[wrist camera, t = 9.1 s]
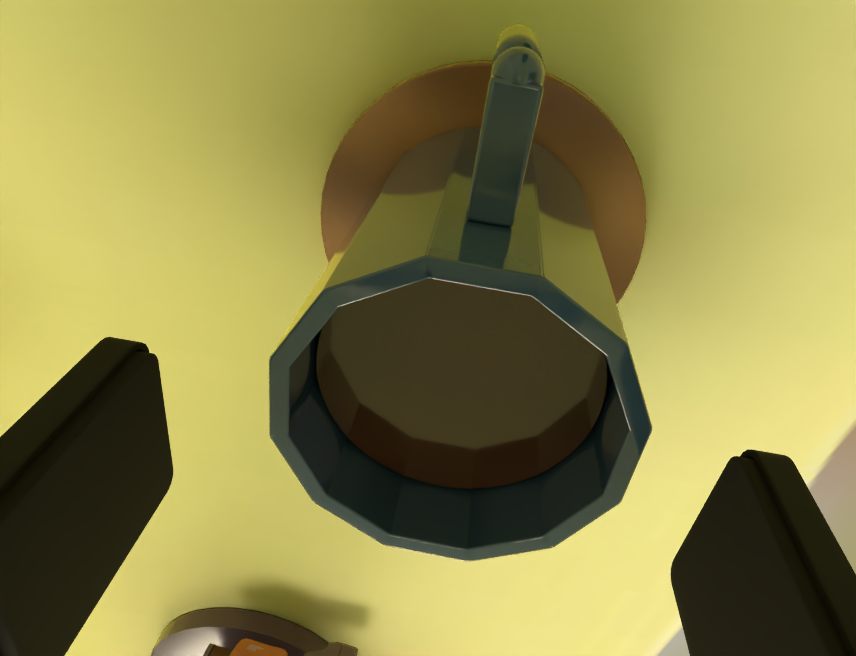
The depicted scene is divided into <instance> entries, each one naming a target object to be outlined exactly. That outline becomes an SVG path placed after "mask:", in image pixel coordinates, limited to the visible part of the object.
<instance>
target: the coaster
mask: <svg viewBox="0 0 856 656" xmlns="http://www.w3.org/2000/svg"><path fill="white" fill-rule="evenodd" d="M492 65H493V61H470V62H458V63H454V64H449V65H445V66H440V67H436V68H433V69H431V70H428V71H425V72H423V73H420V74H417V75H415V76H413V77H411V78H409V79H407V80H405V81H404V82H402V83H400V84H398V85H396V86H394V87H393V88H392V89H390V90H389V91H388V92H386V93H385V94H384V95H382V96H381V97H380V98H378V99H377V100H376V101H375V102H374V103H373V104H372V105H371V106H370V107H369V108H368V109H367V110H366V111H365V112H364V113H363V114H362V115H361V116H360V117H359V118H358V119H357V120H356V121H355V123H354V124H353V125H352V127H351V128H350V129H349V131H348V132H347V133H346V135H345V136H344V138H343V139H342V141H341V143H340V145H339V147H338V149H337V150H336V152H335V154H334V156H333V159H332V162H331V164H330V167H329V170H328V172H327V176H326V180H325V184H324V189H323V193H322V205H321V227H322V237H323V242H324V247H325V252H326V255H327V258H328V261H329V262H330V261H331V259H332V257H333V256H334V254H335V253H336V251H337V250H338V248H339V246H340V245H341V243H342V242H343V240H344V238H345V237H346V235H347V234H348V232H349V230H350V229H351V227H352V226H353V224H354V222H355V221H356V219H357V218H358V216H359V215H360V213H361V211H362V210H363V208H364V207H365V205H366V203H367V202H368V200H369V199H370V197H371V196H372V195H373V193H374V192H375V191H376V189H377V188H378V187H379V185H380V184H381V183H382V181H383V180H384V179H385V177H386V176H387V174H388V173H389V171H390V170H391V169H392V168H393V166H394V165H395V164H396V163H397V162H398V160H399V159H400V158H401V156H402V155H403V154H404V152H406V151H408V150H410V149H413V148H414V147H416V146H417V145H419V144H420V143H422V142H424V141H426V140H428V139H430V138H432V137H434V136H436V135H439V134H442V133H446V132H449V131H452V130H458V129H464V128H479V127H481V124H482V118H483V112H484V107H485V101H486V95H487V90H488V84H489V79H490V75H491V69H492ZM543 88H544V92H543V96H542V101H541V105H540V110H539V114H538V119H537V123H536V128H535V132H534V137H533V141H535V142H536V143H538V144H540V145H542V146H543V147H545V148H546V149H547V150H549V151H550V152H551V153H553V154H554V155H555V156H556V157H557V158H558V159H559V160H560V161H561V162H562V163H563V164H564V165H565V166H566V167H567V169H568V170H569V171H570V173H571V174H572V175H573V176H574V177H575V178H577V179H578V180H579V182H580V184H581V187H582V191H583V194H584V197H585V201H586V204H587V207H588V211H589V214H590V217H591V221H592V224H593V227H594V231H595V234H596V237H597V241H598V244H599V247H600V251H601V254H602V258H603V261H604V264H605V268H606V271H607V274H608V278H609V281H610V284H611V288H612V291H613V294H614V298H615V301H616V304H617V303H618V302H619V300H620V299H621V298H622V296H623V295H624V293H625V291H626V289H627V287H628V286H629V284H630V282H631V280H632V278H633V276H634V273H635V270H636V268H637V265H638V263H639V260H640V256H641V252H642V248H643V244H644V237H645V227H646V206H645V196H644V191H643V186H642V181H641V177H640V174H639V171H638V168H637V166H636V163H635V160H634V157H633V155H632V154H631V152H630V150H629V148H628V146H627V144H626V142H625V140H624V139H623V137H622V135H621V134H620V132H619V131H618V130H617V128H616V127H615V126H614V124H613V123H612V122H611V120H610V119H609V118H608V116H607V115H606V114H605V113H604V112H603V111H602V110H601V109H600V108H599V107H598V106H597V105H596V104H595V103H594V102H593V101H592V100H591V99H589V98H588V97H587V96H585V95H584V94H583V93H581V92H580V91H578V90H577V89H576V88H574V87H573V86H571V85H570V84H568V83H566V82H564V81H562V80H560V79H558V78H556V77H555V76H553V75H550V74H548V73H545V80H544V83H543Z"/></svg>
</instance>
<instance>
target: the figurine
mask: <svg viewBox="0 0 856 656" xmlns="http://www.w3.org/2000/svg"><path fill="white" fill-rule="evenodd" d="M357 653H358V649H357V648H355V647H352V646H349V645H346V644H343V643H339V642H336V643H329V644H328V643H327V642H326V641H324V640H323V639H321V638H320V637H318V636H317V635H316V634H314V633H312V632H310V631H308V630H306V629H304V628H303V627H301V626H299V625H297V624H294V623H292V622H289V621H287V620H284V619H281V618H279V617H276V616H272V615H268V614H264V613H260V612H256V611H251V610H243V609H236V608H211V609H204V610H197V611H193V612H190V613H187V614H184V615H181V616H180V617H178V618H177V619H175V620H173V621H172V622H170V623H169V625H168V626H167V627H166V628H165V629H164V630H163V632H162V634H161V635H160V637H159V639H158V641H157V643H156V645H155V647H154V649H153V651H152V654H151V656H357Z"/></svg>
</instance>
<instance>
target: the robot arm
mask: <svg viewBox="0 0 856 656" xmlns="http://www.w3.org/2000/svg"><path fill="white" fill-rule="evenodd" d="M172 478H173V464H172V457H171V450H170V443H169V435H168V428H167V421H166V414H165V407H164V399H163V392H162V385H161V378H160V370H159V363H158V359H157V356H156V355H155V354H152V353H149V350H148V347H147V346H146V344H144V343H141V342H136V341H130V340H124V339H118V338H113V337H107V338H104V339H103V340H101V341H100V342H99V343H98V344H97V345H96V346H95V347H94V348H93V349H92V350H91V351H89V352H88V353H87V354H86V355H85V356H84V357H83V358H82V359H81V360H80V361H79V362H78V363H77V364H76V365H75V366H74V367H73V368H72V369H71V370H70V371H69V372H68V373H67V374H66V375H65V376H63V377H62V378H61V379H60V380H59V381H58V382H57V383H56V384H55V385H54V386H53V387H52V388H51V389H50V390H49V391H48V392H47V393H46V394H45V395H44V396H43V397H42V398H41V399H40V400H39V401H37V402H36V403H35V404H34V405H33V406H32V407H31V408H30V409H29V410H28V411H27V412H26V413H25V414H24V415H23V416H22V417H21V418H20V419H19V420H18V421H17V422H16V423H15V424H14V425H13V426H11V427H10V428H9V429H8V430H7V431H6V432H5V433H4V434H3V435H2V436H1V437H0V656H64V655H65V654H66V652H67V651H68V649H69V647H70V646H71V644H72V643H73V641H74V639H75V638H76V636H77V635H78V633H79V632H80V630H81V628H82V627H83V625H84V624H85V622H86V620H87V619H88V617H89V616H90V614H91V612H92V611H93V609H94V608H95V606H96V604H97V603H98V601H99V600H100V598H101V597H102V595H103V593H104V592H105V590H106V589H107V587H108V585H109V584H110V582H111V581H112V579H113V577H114V576H115V574H116V573H117V571H118V569H119V568H120V566H121V565H122V563H123V562H124V560H125V558H126V557H127V555H128V554H129V552H130V550H131V549H132V547H133V546H134V544H135V542H136V541H137V539H138V538H139V536H140V534H141V533H142V531H143V530H144V528H145V527H146V525H147V523H148V522H149V520H150V519H151V517H152V515H153V514H154V512H155V511H156V509H157V507H158V506H159V504H160V503H161V501H162V500H163V498H164V496H165V495H166V493H167V491H168V489H169V487H170V485H171V482H172ZM671 582H672V587H673V591H674V595H675V599H676V602H677V606H678V610H679V614H680V618H681V622H682V626H683V630H684V634H685V637H686V641H687V645H688V649H689V653H690V656H856V574H855V573H854V571H853V569H852V567H851V565H850V564H849V562H848V560H847V558H846V556H845V554H844V553H843V551H842V549H841V547H840V545H839V544H838V542H837V540H836V538H835V536H834V535H833V533H832V531H831V529H830V527H829V526H828V524H827V522H826V520H825V518H824V516H823V515H822V513H821V511H820V509H819V507H818V506H817V504H816V502H815V500H814V498H813V497H812V495H811V493H810V491H809V489H808V487H807V486H806V484H805V482H804V480H803V478H802V477H801V475H800V473H799V471H798V469H797V468H796V466H795V464H794V462H793V461H792V460H791V459H790V458H789V457H787V456H785V455H779V454H774V453H768V452H762V451H757V450H746V451H745V452H743V453H742V454H741V456H740V457H738V456H734V457H732V458H731V459H730V460H729V462H728V463H727V465H726V467H725V469H724V470H723V472H722V474H721V476H720V477H719V479H718V481H717V483H716V485H715V486H714V488H713V490H712V492H711V494H710V495H709V497H708V499H707V501H706V503H705V504H704V506H703V508H702V510H701V511H700V513H699V515H698V517H697V519H696V520H695V522H694V524H693V526H692V528H691V529H690V531H689V533H688V535H687V537H686V538H685V540H684V542H683V544H682V545H681V547H680V549H679V551H678V553H677V554H676V556H675V558H674V560H673V563H672V567H671Z"/></svg>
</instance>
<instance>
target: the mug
mask: <svg viewBox="0 0 856 656" xmlns="http://www.w3.org/2000/svg"><path fill="white" fill-rule="evenodd" d="M544 80H545V68H544V64H543V60H542V57H541V53H540V50H539V46H538V43H537V39H536V36H535V34H534V32H533V31H532V30H531V29H530V28H529V27H528V26H526V25H523V24H514V25H511V26H509V27H507V28H506V29H505V30H504V31H503V32H502V33H501V35H500V37H499V39H498V43H497V48H496V52H495V56H494V60H493V65H492V69H491V75H490V79H489V84H488V90H487V95H486V101H485V107H484V112H483V118H482V124H481V127H479V128H464V129H458V130H452V131H449V132H446V133H442V134H439V135H436V136H434V137H432V138H430V139H428V140H426V141H424V142H422V143H420V144H419V145H417V146H416V147H414V148H413V149H410V150H408V151H406V152H404V154H403V155H402V156H401V158H400V159H399V160H398V162H397V163H396V164H395V165H394V166H393V168H392V169H391V170H390V171H389V173H388V174H387V176H386V177H385V179H384V180H383V181H382V183H381V184H380V185H379V187H378V188H377V189H376V191H375V192H374V193H373V195H372V196H371V197H370V199H369V200H368V202H367V203H366V205H365V207H364V208H363V210H362V211H361V213H360V215H359V216H358V218H357V219H356V221H355V222H354V224H353V226H352V227H351V229H350V230H349V232H348V234H347V235H346V237H345V238H344V240H343V242H342V243H341V245H340V246H339V248H338V250H337V251H336V253H335V254H334V256H333V257H332V259H331V261H330V262H329V264H328V265H327V267H326V269H325V270H324V272H323V273H322V275H321V277H320V278H319V280H318V281H317V283H316V285H315V286H314V288H313V289H312V291H311V292H310V294H309V296H308V297H307V299H306V300H305V302H304V304H303V305H302V307H301V308H300V310H299V312H298V313H297V315H296V316H295V318H294V320H293V321H292V323H291V324H290V326H289V327H288V329H287V331H286V332H285V334H284V335H283V337H282V339H281V340H280V342H279V343H278V345H277V347H276V348H275V350H274V351H273V353H272V355H271V356H270V359H269V413H270V437H271V439H272V440H273V442H274V443H275V445H276V447H277V448H278V450H279V451H280V453H281V454H282V456H283V457H284V459H285V460H286V462H287V463H288V465H289V466H290V468H291V469H292V471H293V472H294V474H295V475H296V477H297V478H298V480H299V481H300V483H301V484H302V486H303V487H304V489H305V490H306V492H307V493H308V495H309V496H310V498H311V499H312V501H314V503H316V504H318V505H319V506H321V507H322V508H324V509H326V510H327V511H329V512H331V513H332V514H334V515H336V516H337V517H339V518H340V519H342V520H344V521H345V522H347V523H349V524H350V525H352V526H353V527H355V528H357V529H358V530H360V531H362V532H363V533H365V534H366V535H368V536H370V537H371V538H373V539H375V540H376V541H378V542H380V543H381V544H383V545H385V546H390V547H395V548H401V549H406V550H411V551H416V552H421V553H426V554H431V555H437V556H442V557H447V558H452V559H457V560H462V561H476V560H482V559H488V558H494V557H500V556H506V555H512V554H519V553H525V552H531V551H537V550H543V549H549V548H552V547H555V546H556V545H558V544H559V543H561V542H562V541H564V540H565V539H567V538H568V537H570V536H571V535H573V534H574V533H576V532H577V531H579V530H580V529H582V528H583V527H585V526H586V525H588V524H589V523H591V522H592V521H594V520H595V519H597V518H598V517H600V516H601V515H603V514H604V513H606V512H607V511H609V510H610V509H612V508H613V507H615V506H616V505H618V504H619V503H620V502H621V501H622V498H623V496H624V494H625V491H626V489H627V487H628V484H629V482H630V480H631V478H632V475H633V473H634V471H635V468H636V466H637V464H638V461H639V459H640V457H641V454H642V452H643V450H644V448H645V445H646V443H647V441H648V438H649V436H650V434H651V431H652V424H651V421H650V417H649V414H648V411H647V407H646V404H645V400H644V397H643V393H642V390H641V386H640V383H639V379H638V376H637V372H636V369H635V365H634V362H633V359H632V355H631V352H630V348H629V345H628V341H627V338H626V335H625V331H624V328H623V325H622V321H621V318H620V314H619V311H618V308H617V304H616V301H615V298H614V294H613V291H612V288H611V284H610V281H609V278H608V274H607V271H606V268H605V264H604V261H603V258H602V254H601V251H600V247H599V244H598V241H597V237H596V234H595V231H594V227H593V224H592V221H591V217H590V214H589V211H588V207H587V204H586V201H585V197H584V194H583V191H582V187H581V184H580V182H579V180H578V179H577V178H575V177H574V176H573V175H572V174H571V173H570V171H569V170H568V169H567V167H566V166H565V165H564V164H563V163H562V162H561V161H560V160H559V159H558V158H557V157H556V156H555V155H554V154H553V153H551V152H550V151H549V150H547V149H546V148H545V147H543V146H542V145H540V144H538V143H536V142H535V141H533V137H534V132H535V128H536V123H537V119H538V114H539V110H540V105H541V101H542V96H543V92H544V88H543V83H544Z"/></svg>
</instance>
